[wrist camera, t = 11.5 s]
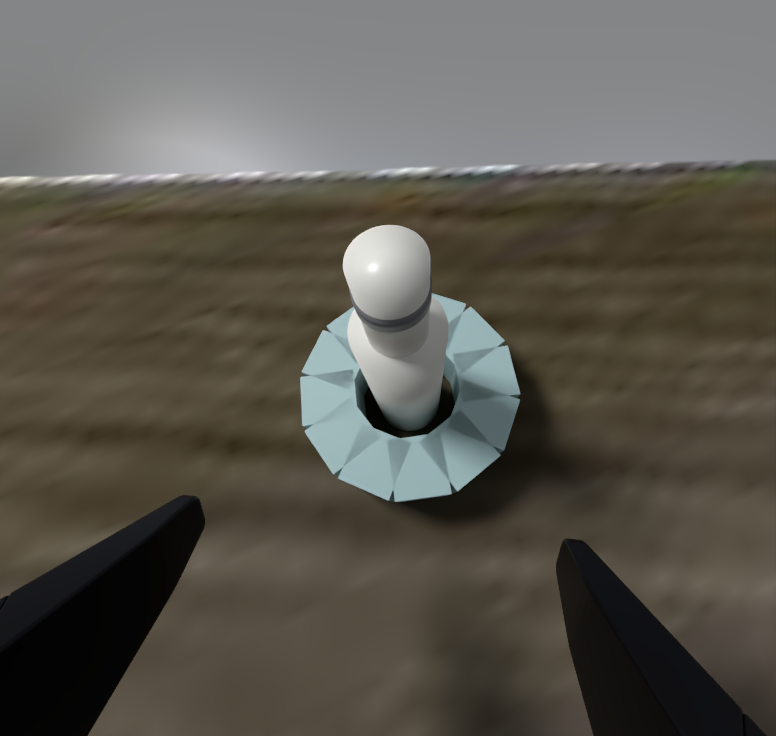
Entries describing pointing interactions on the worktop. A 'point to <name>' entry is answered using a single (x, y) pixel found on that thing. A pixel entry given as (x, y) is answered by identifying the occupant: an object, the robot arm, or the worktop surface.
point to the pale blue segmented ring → (418, 453)
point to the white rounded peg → (396, 324)
